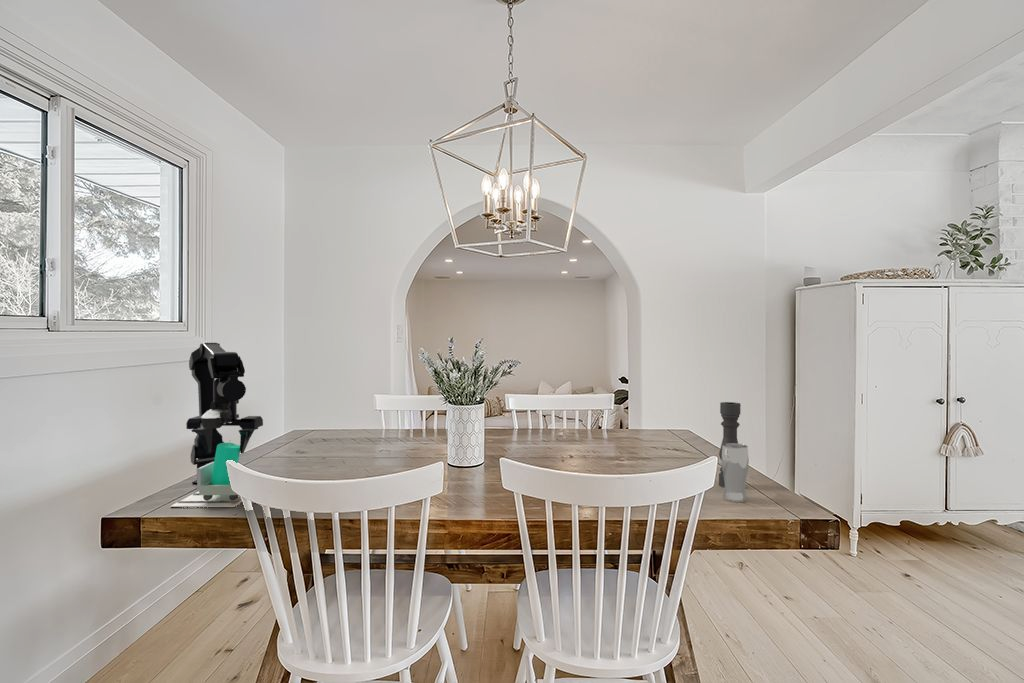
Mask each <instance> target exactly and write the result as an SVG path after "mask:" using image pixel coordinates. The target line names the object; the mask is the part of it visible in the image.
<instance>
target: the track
mask: <svg viewBox="0 0 1024 683" xmlns="http://www.w3.org/2000/svg"><path fill="white" fill-rule="evenodd" d="M203 496H204V495H199V491H196V492H194V493H193V494H191V495H189V496H186V497H185V498H183V499H181V500H180V501H177V502H175V503H173V504H172V505H170V506H169V507H182V508H181V509H189V508H190V509H197V507H199V508H198V509H201V508H200V507H203V508H204V507H207V508H208V507H235V506H236V507H238V506H239V505H240V504H239V503H241V499H240V497H238V498H237V499H236V500H234V501H232V500H230V498H229V496H230V495H213V497H212V499H210V500H208V501H206V500H204V498H203ZM238 504H239V505H238ZM241 504H242V503H241ZM237 505H238V506H237ZM183 507H184V508H183ZM187 507H188V508H187ZM236 507H235V508H236ZM203 508H202V509H203ZM204 509H205V508H204Z"/></svg>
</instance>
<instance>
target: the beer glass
mask: <svg viewBox="0 0 1024 683" xmlns="http://www.w3.org/2000/svg"><path fill="white" fill-rule="evenodd" d="M721 467H722V470H723V476H724V483H725V488H724V487H723V488H724V489H723V494H722V498H723V499H724V500H725V501H727V502H733V503H745V502H746V501H747V494H746V481H747V476H748V471H749V446H748V445H746V444H742V443H738V444H737V443H725V444H723V446H722V460H721Z"/></svg>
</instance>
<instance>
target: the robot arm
mask: <svg viewBox="0 0 1024 683" xmlns="http://www.w3.org/2000/svg"><path fill="white" fill-rule="evenodd" d="M189 357H190V358H189V360H188V366H189V367H188V368H189V371H191V376H192V378H193V379H194V381H196V383H197V393H198V414H199V415H198V416H193V417H190V418H188V419H187V421H186V423H185V426H186V429H187V430H191V432H192V433H195V434H196V436H195V438H194V442H193V443H194V444H193V445H192V447H191V452H190V463H191V464H192V465H193V466H195V465H196V469H197V468H200V467H202V466H204V465H206V464H209V463H211V462H214V460H215V454H216V449H217V445H218V444H220V443H225V441H223V435H222V434H221V433H220V432H219V430H218V429H220V428H222V427H224V426H225V427H227V426H228V427H235V426H237V427H239V428H240V429H238V433H239V434H240V436H239V437H240V442H239V445H240V455H241V454H244V453H245V450H246V448H247V446H248V444H249V441H250V438H251V437H252V435H253V433H254V432H255V431H257V430H258V429H259V428H260V427H262V426H264V419H263V417H262V416H261V415H248V416H245V417H242V418H240V414H239V413H237V412H238V411H237V407H238V406H237V405H238V404H239V403H240V400H241V399H242V398H244V396H246V391H247V387H246V385H245V384H244V382H243V381H241V380H240V379H239V378H244V376H245V372H246V371H245V366H244V363H243V360H242V358H241V356H240V355H238V353H237V352H235V351H226V350H225V349H224V348H222V347H221V345H220V342H219V343H217V342H202V343H200V344H199V347H198V348H197V349H195V350H194V351H192V352H191V353H190V356H189ZM192 483H197V479H196V480H194V481H191V484H192Z"/></svg>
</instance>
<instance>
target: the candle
mask: <svg viewBox="0 0 1024 683" xmlns="http://www.w3.org/2000/svg"><path fill="white" fill-rule="evenodd" d="M240 455H241V453H240V444H235V443H233V442H231V441H229V442H224V443H220V444H218V445H217V449H216V454H215V460H214V465H213V471H212V476H211V483H212V484H214V485H230V481H229V477H228V473H227V466H226V463H225V462H226V461H227V460H233V461H235V462H236V463H239V459H240Z"/></svg>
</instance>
